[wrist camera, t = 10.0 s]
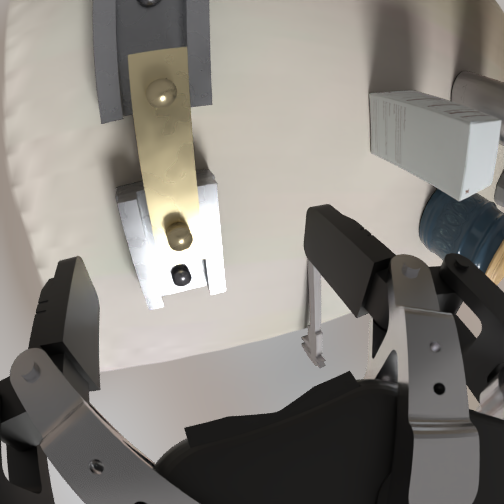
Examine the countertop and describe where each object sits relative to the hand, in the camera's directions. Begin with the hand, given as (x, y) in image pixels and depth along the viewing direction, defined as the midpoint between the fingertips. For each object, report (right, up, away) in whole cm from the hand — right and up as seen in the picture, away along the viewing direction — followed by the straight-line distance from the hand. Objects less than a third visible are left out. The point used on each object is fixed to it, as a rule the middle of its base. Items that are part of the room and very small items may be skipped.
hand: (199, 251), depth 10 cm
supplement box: (+17, +15, +18) cm, 29 cm away
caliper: (+9, -7, +31) cm, 33 cm away
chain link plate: (-5, +8, +10) cm, 14 cm away
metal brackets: (-6, +9, +12) cm, 16 cm away
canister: (+34, +7, +32) cm, 47 cm away
